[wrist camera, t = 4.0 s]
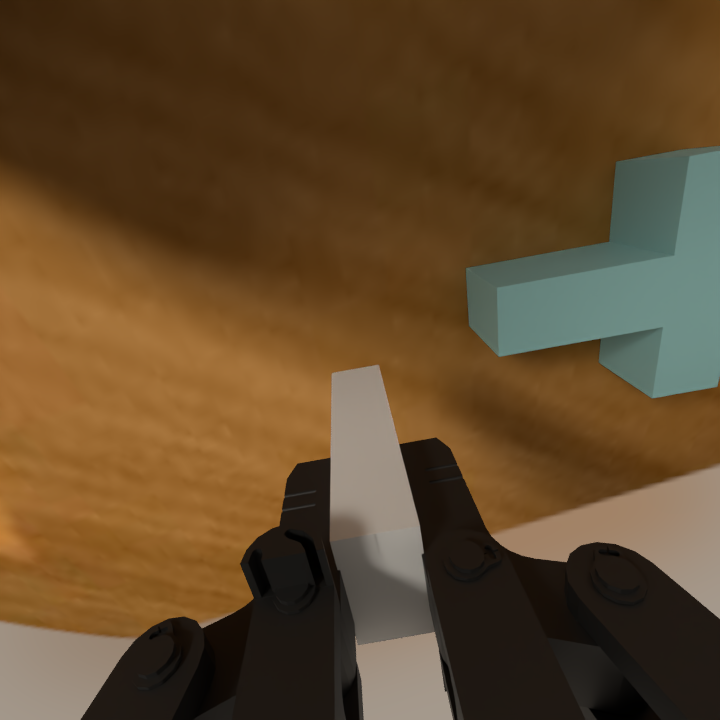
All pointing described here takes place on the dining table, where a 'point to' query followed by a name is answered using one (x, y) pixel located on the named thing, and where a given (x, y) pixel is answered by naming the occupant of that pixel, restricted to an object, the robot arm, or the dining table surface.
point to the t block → (624, 281)
